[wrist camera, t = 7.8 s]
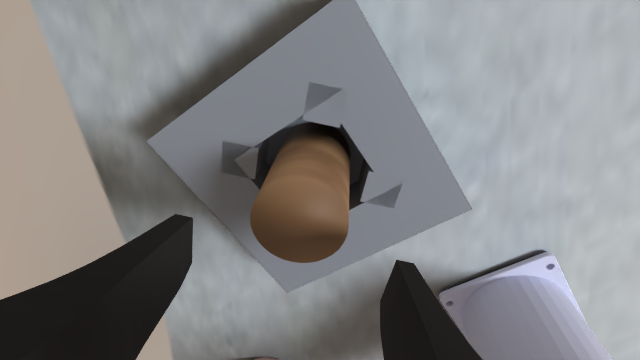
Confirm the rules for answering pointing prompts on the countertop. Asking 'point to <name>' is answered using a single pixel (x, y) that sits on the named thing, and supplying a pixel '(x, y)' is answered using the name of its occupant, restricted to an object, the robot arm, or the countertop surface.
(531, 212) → the countertop surface
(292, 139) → the walnut pin
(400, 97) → the bore block
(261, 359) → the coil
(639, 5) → the countertop surface
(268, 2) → the countertop surface
